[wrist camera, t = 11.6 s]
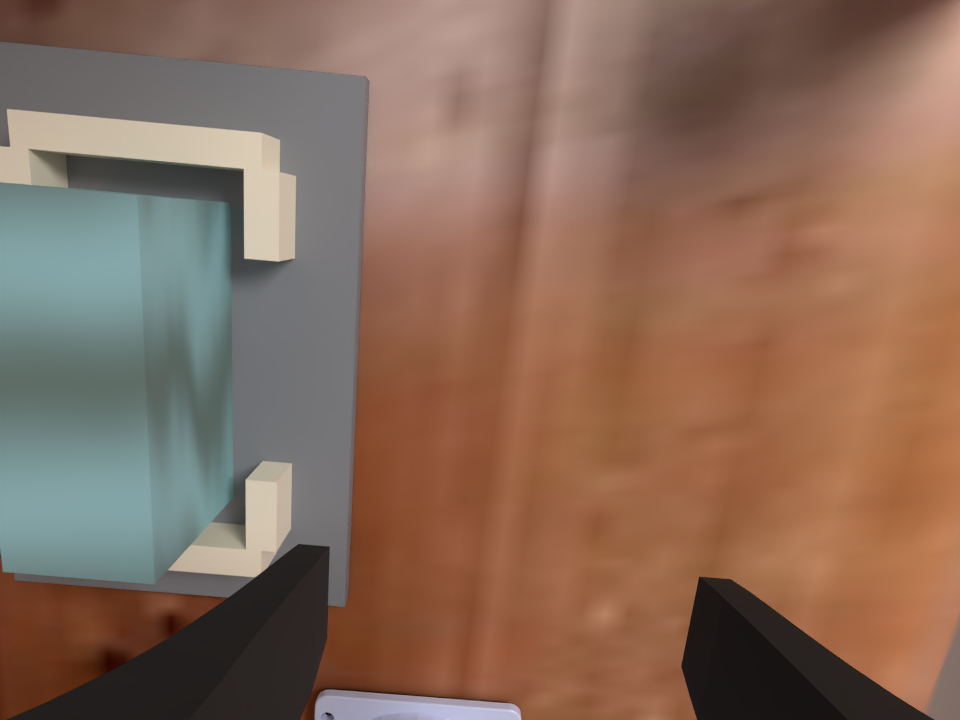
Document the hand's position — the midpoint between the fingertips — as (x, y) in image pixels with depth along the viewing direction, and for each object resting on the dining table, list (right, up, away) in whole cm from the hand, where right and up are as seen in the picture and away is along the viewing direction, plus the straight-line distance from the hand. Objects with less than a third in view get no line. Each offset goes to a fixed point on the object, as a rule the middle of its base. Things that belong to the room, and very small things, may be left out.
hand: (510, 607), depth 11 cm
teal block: (-11, +5, +8) cm, 14 cm away
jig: (-11, +5, +9) cm, 15 cm away
